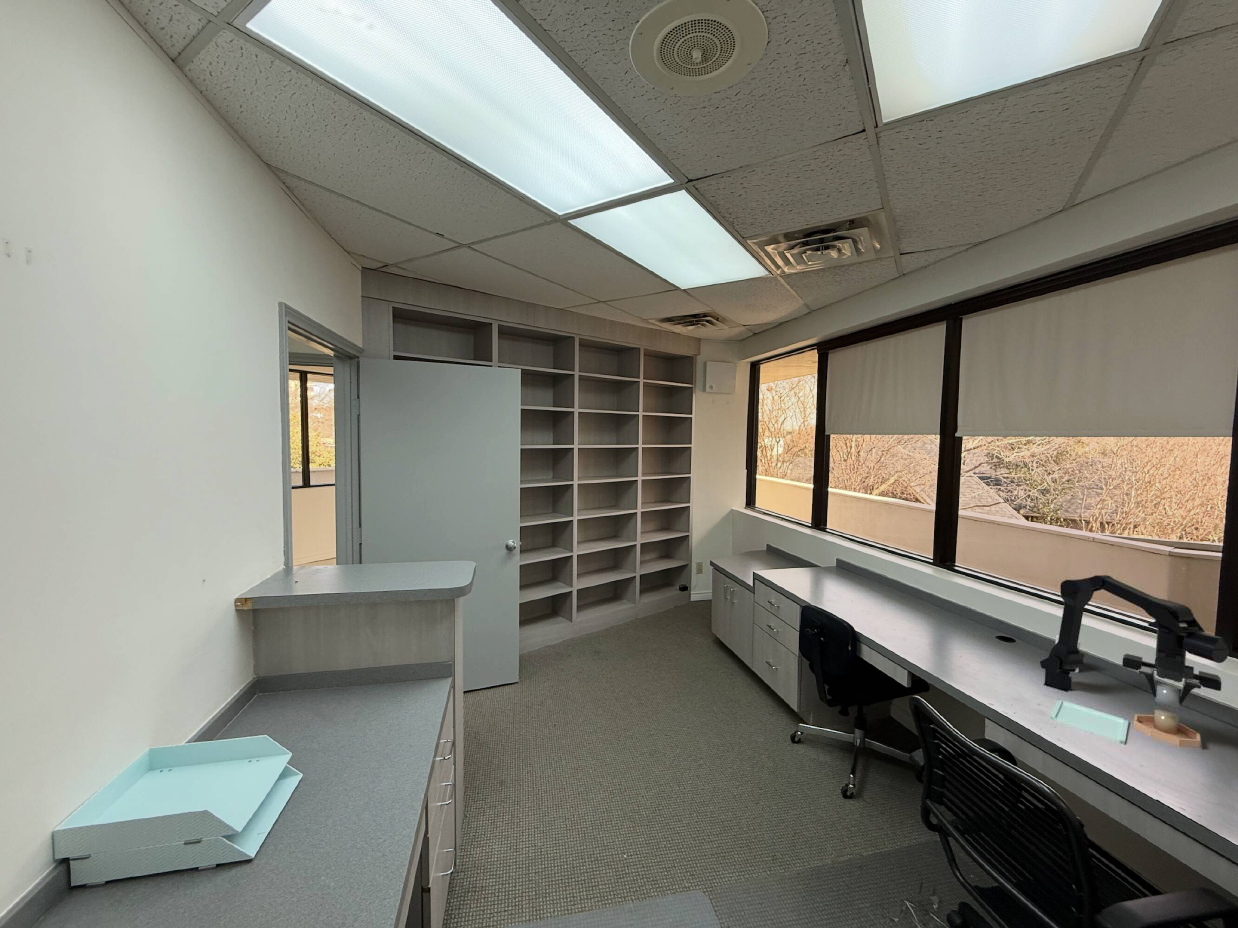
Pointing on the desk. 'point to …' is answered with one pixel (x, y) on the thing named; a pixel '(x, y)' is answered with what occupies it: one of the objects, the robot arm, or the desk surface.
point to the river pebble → (1166, 721)
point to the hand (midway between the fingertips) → (1167, 699)
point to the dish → (1182, 738)
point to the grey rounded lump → (1167, 695)
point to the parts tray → (1090, 721)
